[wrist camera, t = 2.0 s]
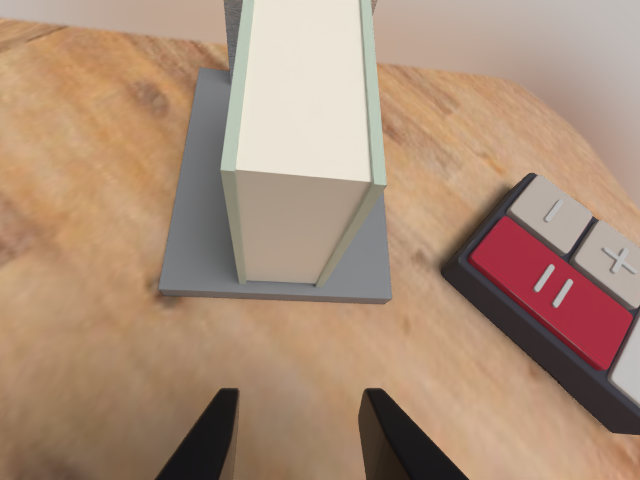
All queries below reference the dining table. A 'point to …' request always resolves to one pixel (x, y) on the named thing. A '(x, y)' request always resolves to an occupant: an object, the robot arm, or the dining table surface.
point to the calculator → (560, 295)
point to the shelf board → (215, 236)
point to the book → (301, 137)
